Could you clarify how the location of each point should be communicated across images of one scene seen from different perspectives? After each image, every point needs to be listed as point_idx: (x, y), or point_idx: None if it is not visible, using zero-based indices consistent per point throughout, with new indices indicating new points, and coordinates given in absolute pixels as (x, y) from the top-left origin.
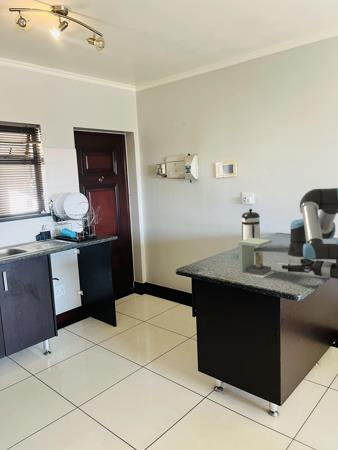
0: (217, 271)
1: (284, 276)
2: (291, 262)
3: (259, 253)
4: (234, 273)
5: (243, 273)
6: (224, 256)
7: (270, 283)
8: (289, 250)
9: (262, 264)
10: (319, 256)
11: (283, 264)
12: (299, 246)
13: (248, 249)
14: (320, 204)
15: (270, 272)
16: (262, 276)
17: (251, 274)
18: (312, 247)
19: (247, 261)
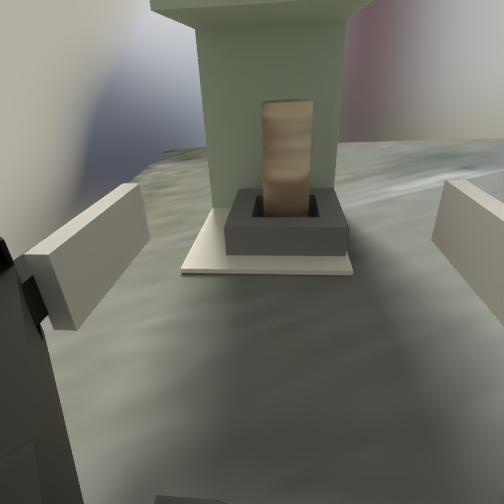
0: (204, 175)
1: (309, 349)
2: (446, 253)
3: (274, 103)
4: (206, 198)
5: (212, 210)
6: (388, 147)
7: (61, 337)
8: None
9: (288, 190)
10: None
11: (78, 221)
12: None
13: (273, 78)
14: None
15: (315, 262)
16: (200, 262)
17: (212, 227)
18: None
19: (261, 154)
